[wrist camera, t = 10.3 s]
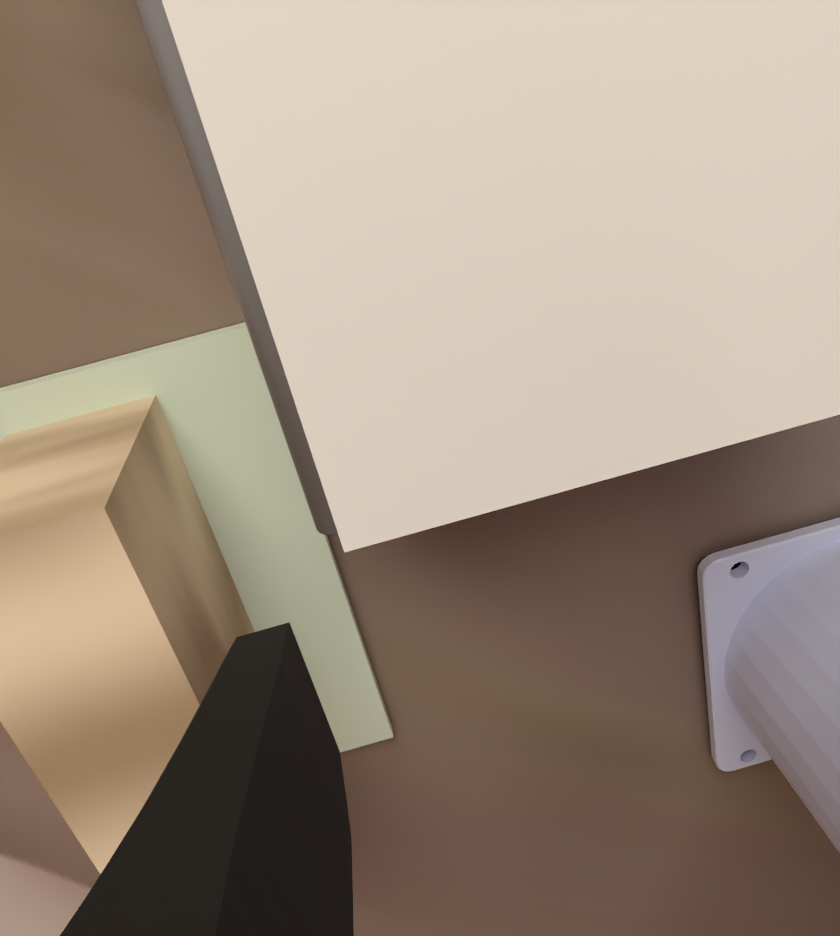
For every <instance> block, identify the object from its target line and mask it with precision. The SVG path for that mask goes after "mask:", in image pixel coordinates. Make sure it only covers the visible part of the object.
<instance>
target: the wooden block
mask: <svg viewBox="0 0 840 936" xmlns="http://www.w3.org/2000/svg"><path fill="white" fill-rule="evenodd" d="M253 632H255V631H254V629H253V627H252V624H251V622H250V619H249V617H248V615H247V612H246V610H245V607H244V605H243V603H242V600H241V598H240V596H239V593H238V591H237V588H236V586H235V584H234V581H233V579H232V576H231V574H230V572H229V569H228V567H227V564H226V562H225V560H224V557H223V555H222V552H221V550H220V548H219V545H218V543H217V540H216V538H215V536H214V533H213V531H212V528H211V526H210V524H209V521H208V519H207V516H206V514H205V512H204V509H203V507H202V505H201V502H200V500H199V497H198V495H197V493H196V490H195V488H194V485H193V483H192V481H191V478H190V476H189V473H188V471H187V469H186V466H185V464H184V461H183V459H182V457H181V454H180V452H179V449H178V447H177V445H176V442H175V440H174V437H173V435H172V433H171V430H170V428H169V425H168V423H167V421H166V418H165V416H164V414H163V411H162V409H161V406H160V404H159V402H158V399H157V397H156V395H153V396H149V397H146V398H142V399H138V400H134V401H131V402H127V403H123V404H120V405H116V406H112V407H109V408H105V409H101V410H97V411H94V412H90V413H86V414H83V415H79V416H75V417H72V418H68V419H64V420H60V421H57V422H53V423H49V424H46V425H42V426H38V427H34V428H31V429H27V430H23V431H20V432H16V433H12V434H9V435H6V436H5V437H4V439H3V440H2V441H1V442H0V721H1V723H2V724H3V726H4V727H5V729H6V730H7V732H8V734H9V735H10V737H11V738H12V740H13V741H14V743H15V744H16V746H17V747H18V749H19V750H20V752H21V753H22V755H23V756H24V758H25V759H26V761H27V763H28V764H29V766H30V767H31V769H32V770H33V772H34V773H35V775H36V776H37V778H38V779H39V781H40V782H41V784H42V785H43V787H44V789H45V790H46V792H47V793H48V795H49V796H50V798H51V799H52V801H53V802H54V804H55V805H56V807H57V808H58V810H59V811H60V813H61V814H62V816H63V818H64V819H65V821H66V822H67V824H68V825H69V827H70V828H71V830H72V831H73V833H74V834H75V836H76V837H77V839H78V840H79V842H80V844H81V845H82V847H83V848H84V850H85V851H86V853H87V854H88V856H89V857H90V859H91V860H92V862H93V863H94V865H95V866H96V868H97V870H98V871H99V873H100V874H101V873H102V871H103V870H104V868H105V867H106V865H107V863H108V862H109V860H110V859H111V857H112V856H113V854H114V852H115V851H116V849H117V848H118V846H119V844H120V843H121V841H122V840H123V838H124V836H125V835H126V833H127V832H128V830H129V828H130V827H131V825H132V824H133V822H134V820H135V819H136V817H137V816H138V814H139V812H140V811H141V809H142V807H143V806H144V804H145V802H146V801H147V799H148V797H149V795H150V794H151V792H152V790H153V788H154V787H155V785H156V783H157V781H158V780H159V778H160V776H161V774H162V773H163V771H164V769H165V767H166V765H167V764H168V762H169V760H170V758H171V757H172V755H173V753H174V751H175V750H176V748H177V746H178V744H179V743H180V741H181V739H182V737H183V735H184V733H185V732H186V730H187V728H188V726H189V724H190V722H191V720H192V719H193V717H194V715H195V713H196V711H197V709H198V707H199V706H200V704H201V702H202V700H203V698H204V696H205V694H206V692H207V690H208V689H209V687H210V685H211V683H212V681H213V679H214V677H215V675H216V673H217V671H218V669H219V668H220V666H221V664H222V662H223V660H224V658H225V656H226V655H227V653H228V651H229V649H230V647H231V646H232V644H233V642H234V641H235V639H236V637H239V636H242V635H246V634H249V633H253Z"/></svg>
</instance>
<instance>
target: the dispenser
mask: <svg viewBox="0 0 840 936" xmlns="http://www.w3.org/2000/svg"><path fill="white" fill-rule="evenodd" d="M134 2H135V5H136V8H137V10H138V13H139V16H140V19H141V22H142V25H143V28H144V31H145V34H146V37H147V39H148V42H149V45H150V48H151V51H152V54H153V57H154V60H155V63H156V66H157V68H158V71H159V74H160V77H161V80H162V83H163V86H164V89H165V92H166V95H167V97H168V100H169V103H170V106H171V109H172V112H173V115H174V118H175V121H176V124H177V126H178V129H179V132H180V135H181V138H182V141H183V144H184V147H185V150H186V153H187V155H188V158H189V161H190V164H191V167H192V170H193V173H194V176H195V179H196V182H197V184H198V187H199V190H200V193H201V196H202V199H203V202H204V205H205V208H206V211H207V213H208V216H209V219H210V222H211V225H212V228H213V231H214V234H215V237H216V240H217V242H218V245H219V248H220V251H221V254H222V257H223V260H224V263H225V266H226V269H227V271H228V274H229V277H230V280H231V283H232V286H233V289H234V292H235V295H236V298H237V300H238V303H239V306H240V309H241V312H242V315H243V318H244V321H245V324H246V327H247V329H248V332H249V335H250V338H251V341H252V344H253V347H254V350H255V353H256V356H257V358H258V361H259V364H260V367H261V370H262V373H263V376H264V379H265V382H266V384H267V387H268V390H269V393H270V396H271V399H272V402H273V405H274V408H275V411H276V413H277V416H278V419H279V422H280V425H281V428H282V431H283V434H284V437H285V440H286V442H287V445H288V448H289V451H290V454H291V457H292V460H293V463H294V466H295V469H296V471H297V474H298V477H299V480H300V483H301V486H302V489H303V492H304V495H305V498H306V500H307V503H308V506H309V509H310V512H311V515H312V518H313V521H314V524H315V527H316V529H317V531H318V532H319V533H321V534H324V535H337V534H338V535H339V538H340V541H341V544H342V547H343V550H344V552H348V551H352V550H355V549H359V548H362V547H366V546H369V545H373V544H377V543H380V542H384V541H387V540H391V539H395V538H398V537H402V536H405V535H409V534H413V533H416V532H420V531H423V530H427V529H431V528H434V527H438V526H441V525H445V524H448V523H452V522H456V521H459V520H463V519H466V518H470V517H474V516H477V515H481V514H484V513H488V512H492V511H495V510H499V509H502V508H506V507H509V506H513V505H517V504H520V503H524V502H527V501H531V500H535V499H538V498H542V497H545V496H549V495H553V494H556V493H560V492H563V491H567V490H570V489H574V488H578V487H581V486H585V485H588V484H592V483H596V482H599V481H603V480H606V479H610V478H614V477H617V476H621V475H624V474H628V473H632V472H635V471H639V470H642V469H646V468H649V467H653V466H657V465H660V464H664V463H667V462H671V461H675V460H678V459H682V458H685V457H689V456H693V455H696V454H700V453H703V452H707V451H710V450H714V449H718V448H721V447H725V446H728V445H732V444H736V443H739V442H743V441H746V440H750V439H754V438H757V437H761V436H764V435H768V434H771V433H775V432H779V431H782V430H786V429H789V428H793V427H797V426H800V425H804V424H807V423H811V422H815V421H818V420H822V419H825V418H829V417H832V416H836V415H840V0H134Z"/></svg>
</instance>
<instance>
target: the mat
mask: <svg viewBox="0 0 840 936" xmlns="http://www.w3.org/2000/svg"><path fill="white" fill-rule="evenodd" d="M153 395H156V397H157V399H158V402H159V404H160V406H161V409H162V411H163V414H164V416H165V418H166V421H167V423H168V425H169V428H170V430H171V433H172V435H173V437H174V440H175V442H176V445H177V447H178V449H179V452H180V454H181V457H182V459H183V461H184V464H185V466H186V469H187V471H188V473H189V476H190V478H191V481H192V483H193V485H194V488H195V490H196V493H197V495H198V497H199V500H200V502H201V505H202V507H203V509H204V512H205V514H206V516H207V519H208V521H209V524H210V526H211V528H212V531H213V533H214V536H215V538H216V540H217V543H218V545H219V548H220V550H221V552H222V555H223V557H224V560H225V562H226V564H227V567H228V569H229V572H230V574H231V576H232V579H233V581H234V584H235V586H236V588H237V591H238V593H239V596H240V598H241V600H242V603H243V605H244V607H245V610H246V612H247V615H248V617H249V619H250V622H251V624H252V627H253V629H254V631H255V632H257V631H260V630H264V629H267V628H271V627H274V626H278V625H282V624H285V623H289V622H290V625H291V628H292V630H293V633H294V635H295V638H296V640H297V643H298V646H299V648H300V651H301V653H302V656H303V658H304V661H305V664H306V666H307V669H308V671H309V674H310V676H311V679H312V682H313V684H314V687H315V689H316V692H317V694H318V697H319V699H320V702H321V705H322V707H323V710H324V712H325V715H326V717H327V720H328V723H329V725H330V728H331V730H332V733H333V735H334V738H335V741H336V743H337V746H338V748H339V751H340V752H344V751H347V750H351V749H354V748H358V747H361V746H365V745H368V744H372V743H375V742H379V741H382V740H386V739H389V738H393V730H392V725H391V722H390V719H389V717H388V714H387V711H386V708H385V705H384V702H383V699H382V696H381V693H380V690H379V687H378V684H377V681H376V678H375V675H374V672H373V669H372V666H371V663H370V660H369V657H368V655H367V652H366V649H365V646H364V643H363V640H362V637H361V634H360V631H359V628H358V625H357V622H356V619H355V616H354V613H353V610H352V607H351V604H350V601H349V598H348V596H347V593H346V590H345V587H344V584H343V581H342V578H341V575H340V572H339V569H338V566H337V563H336V560H335V557H334V554H333V551H332V548H331V545H330V542H329V539H328V536H327V535H324V534H321V533H319V532H318V531H317V529H316V527H315V524H314V521H313V518H312V515H311V512H310V509H309V506H308V503H307V500H306V498H305V495H304V492H303V489H302V486H301V483H300V480H299V477H298V474H297V471H296V469H295V466H294V463H293V460H292V457H291V454H290V451H289V448H288V445H287V442H286V440H285V437H284V434H283V431H282V428H281V425H280V422H279V419H278V416H277V413H276V411H275V408H274V405H273V402H272V399H271V396H270V393H269V390H268V387H267V384H266V382H265V379H264V376H263V373H262V370H261V367H260V364H259V361H258V358H257V356H256V353H255V350H254V347H253V344H252V341H251V338H250V335H249V332H248V329H247V327H246V324H245V322H244V323H240V324H237V325H233V326H229V327H226V328H222V329H218V330H214V331H211V332H207V333H203V334H199V335H196V336H192V337H188V338H185V339H181V340H177V341H173V342H170V343H166V344H162V345H159V346H155V347H151V348H147V349H144V350H140V351H136V352H133V353H129V354H125V355H121V356H118V357H114V358H110V359H107V360H103V361H99V362H95V363H92V364H88V365H84V366H81V367H77V368H73V369H69V370H66V371H62V372H58V373H54V374H51V375H47V376H43V377H40V378H36V379H32V380H28V381H25V382H21V383H17V384H14V385H10V386H6V387H2V388H0V442H1V441H2V440H3V439H4V437H5V436H6V435H9V434H12V433H16V432H20V431H23V430H27V429H31V428H34V427H38V426H42V425H46V424H49V423H53V422H57V421H60V420H64V419H68V418H72V417H75V416H79V415H83V414H86V413H90V412H94V411H97V410H101V409H105V408H109V407H112V406H116V405H120V404H123V403H127V402H131V401H134V400H138V399H142V398H146V397H149V396H153Z"/></svg>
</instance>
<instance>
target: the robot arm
mask: <svg viewBox="0 0 840 936" xmlns="http://www.w3.org/2000/svg"><path fill="white" fill-rule="evenodd" d="M738 562H741V564H740V565H739V566H738V567H737V568H736V569H734V570H731V568H732V567H733V565H734V564H736V563H738ZM697 579H698V591H699V604H700V616H701V629H702V641H703V654H704V666H705V679H706V692H707V704H708V717H709V729H710V742H711V754H712V758H713V761H714V762H715V764H716V766H717V767H718V768H719V769H720V770H722V771H734V770H738V769H741V768H745V767H748V766H752V765H755V764H758V763H762V762H765V761H769V760H773V761H774V763H775V764H776V765H777V767H778V768H779V770H780V771H781V772H782V774H783V775H784V777H785V778H786V779H787V781H788V782H789V783H790V785H791V786H792V788H793V789H794V790H795V792H796V793H797V795H798V796H799V797H800V799H801V800H802V802H803V803H804V804H805V806H806V807H807V809H808V810H809V811H810V813H811V814H812V816H813V817H814V818H815V820H816V821H817V823H818V824H819V825H820V827H821V828H822V829H823V831H824V832H825V834H826V835H827V836H828V838H829V839H830V841H831V842H832V843H833V845H834V846H835V848H836V849H837V850H838V852H839V853H840V517H839V518H835V519H832V520H828V521H825V522H821V523H818V524H814V525H811V526H807V527H804V528H800V529H796V530H793V531H789V532H786V533H782V534H779V535H775V536H772V537H768V538H765V539H761V540H758V541H754V542H750V543H747V544H743V545H740V546H736V547H733V548H729V549H726V550H722V551H719V552H715V553H712V554H710V555H708V556H706V557H705V558H704V559H703V560H702V561H701V563H700V564H699V566H698V570H697ZM60 936H354V935H353V888H352V849H351V832H350V824H349V816H348V808H347V800H346V793H345V786H344V779H343V772H342V765H341V757H340V751H339V748H338V746H337V743H336V741H335V738H334V735H333V733H332V730H331V728H330V725H329V723H328V720H327V717H326V715H325V712H324V710H323V707H322V705H321V702H320V699H319V697H318V694H317V692H316V689H315V687H314V684H313V682H312V679H311V676H310V674H309V671H308V669H307V666H306V664H305V661H304V658H303V656H302V653H301V651H300V648H299V646H298V643H297V640H296V638H295V635H294V633H293V630H292V628H291V625H290V622H289V623H285V624H282V625H278V626H274V627H271V628H267V629H264V630H260V631H257V632H253V633H249V634H246V635H242V636H239V637H236V639H235V641H234V642H233V644H232V646H231V647H230V649H229V651H228V653H227V655H226V656H225V658H224V660H223V662H222V664H221V666H220V668H219V669H218V671H217V673H216V675H215V677H214V679H213V681H212V683H211V685H210V687H209V689H208V690H207V692H206V694H205V696H204V698H203V700H202V702H201V704H200V706H199V707H198V709H197V711H196V713H195V715H194V717H193V719H192V720H191V722H190V724H189V726H188V728H187V730H186V732H185V733H184V735H183V737H182V739H181V741H180V743H179V744H178V746H177V748H176V750H175V751H174V753H173V755H172V757H171V758H170V760H169V762H168V764H167V765H166V767H165V769H164V771H163V773H162V774H161V776H160V778H159V780H158V781H157V783H156V785H155V787H154V788H153V790H152V792H151V794H150V795H149V797H148V799H147V801H146V802H145V804H144V806H143V807H142V809H141V811H140V812H139V814H138V816H137V817H136V819H135V820H134V822H133V824H132V825H131V827H130V828H129V830H128V832H127V833H126V835H125V836H124V838H123V840H122V841H121V843H120V844H119V846H118V848H117V849H116V851H115V852H114V854H113V856H112V857H111V859H110V860H109V862H108V863H107V865H106V867H105V868H104V870H103V871H102V873H101V875H100V876H99V878H98V879H97V881H96V883H95V884H94V886H93V887H92V889H91V890H90V892H89V894H88V895H87V897H86V898H85V900H84V901H83V903H82V904H81V906H80V907H79V908H78V910H77V912H76V913H75V915H74V916H73V917H72V919H71V920H70V922H69V923H68V925H67V926H66V928H65V929H64V931H63V932H62V934H61V935H60Z"/></svg>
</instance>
